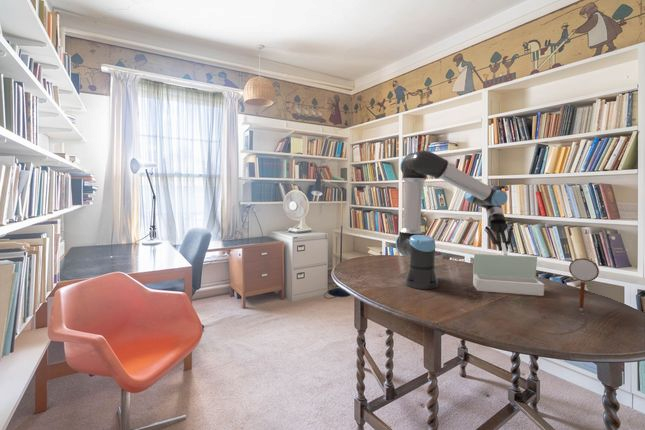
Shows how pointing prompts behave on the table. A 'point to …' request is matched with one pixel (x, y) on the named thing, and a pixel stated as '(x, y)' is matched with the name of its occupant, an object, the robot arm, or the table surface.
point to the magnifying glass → (583, 274)
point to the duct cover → (505, 265)
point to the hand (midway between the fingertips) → (505, 255)
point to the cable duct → (508, 284)
